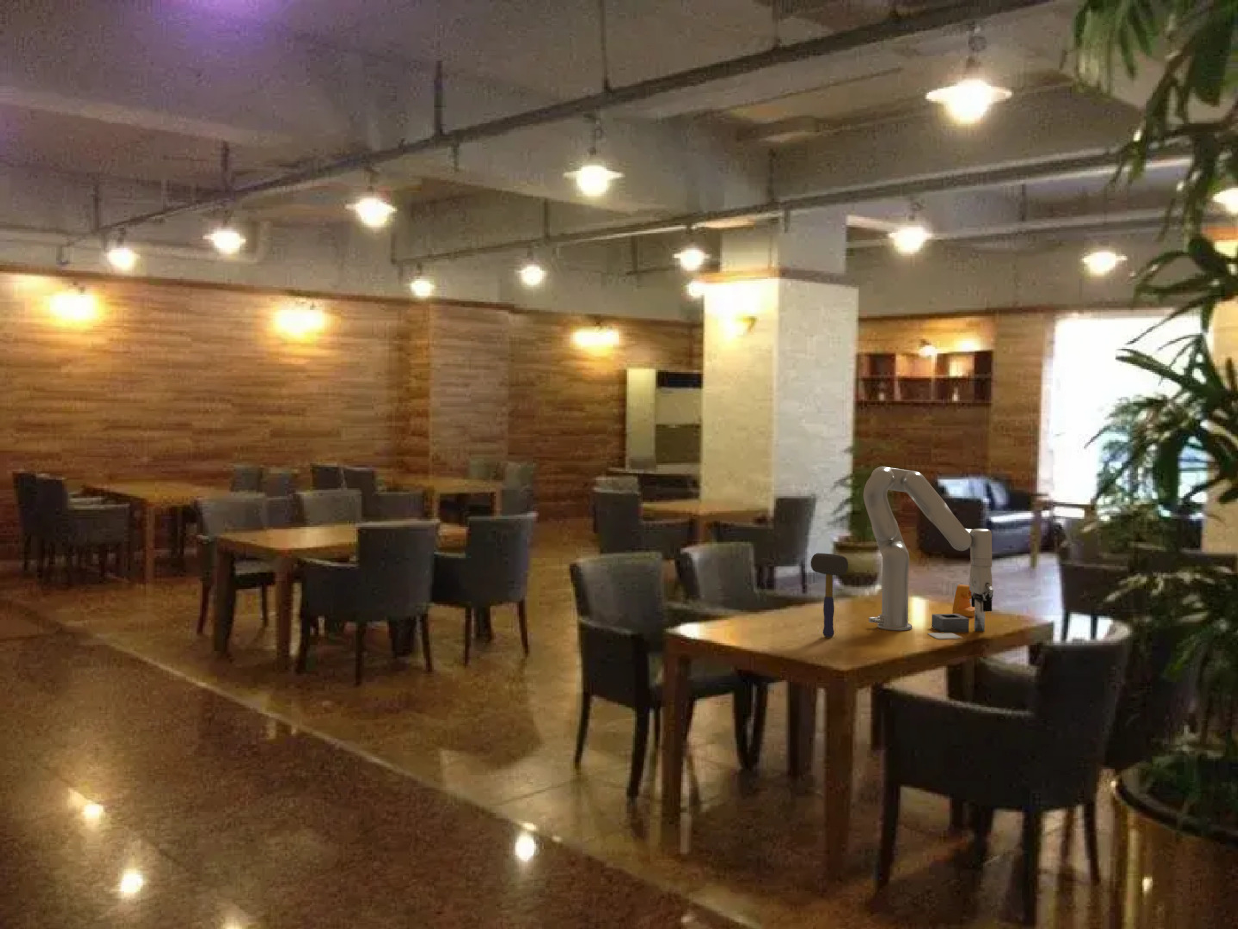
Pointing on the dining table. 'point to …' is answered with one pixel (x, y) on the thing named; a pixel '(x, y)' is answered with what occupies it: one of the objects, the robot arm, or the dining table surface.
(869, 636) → the dining table surface
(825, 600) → the rubber mallet
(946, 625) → the chuck block
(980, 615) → the steel peg
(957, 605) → the bracket
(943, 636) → the pad
